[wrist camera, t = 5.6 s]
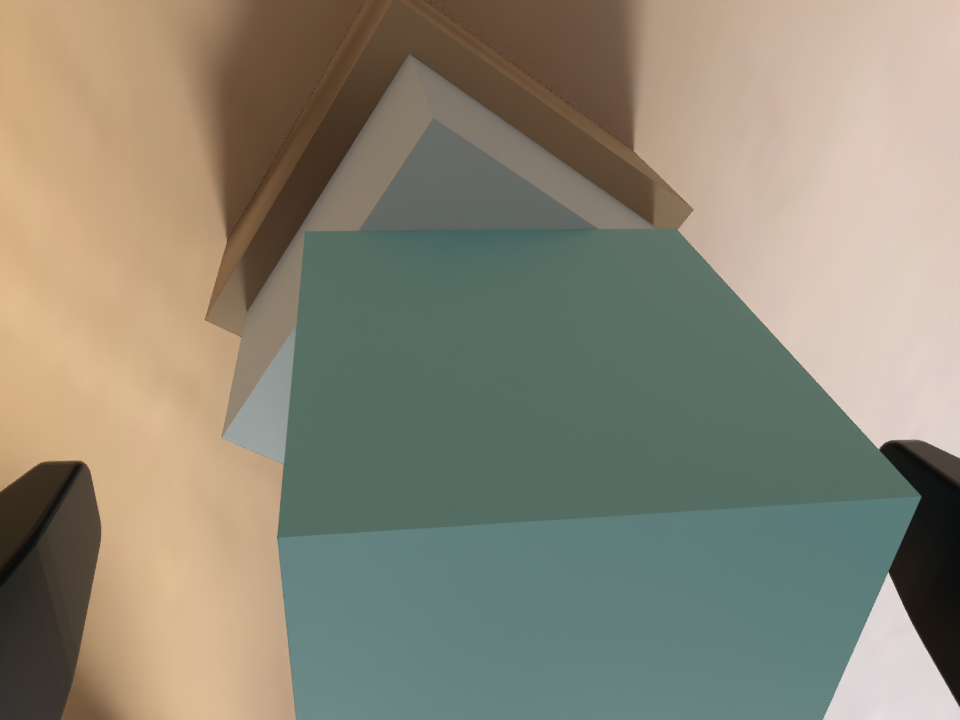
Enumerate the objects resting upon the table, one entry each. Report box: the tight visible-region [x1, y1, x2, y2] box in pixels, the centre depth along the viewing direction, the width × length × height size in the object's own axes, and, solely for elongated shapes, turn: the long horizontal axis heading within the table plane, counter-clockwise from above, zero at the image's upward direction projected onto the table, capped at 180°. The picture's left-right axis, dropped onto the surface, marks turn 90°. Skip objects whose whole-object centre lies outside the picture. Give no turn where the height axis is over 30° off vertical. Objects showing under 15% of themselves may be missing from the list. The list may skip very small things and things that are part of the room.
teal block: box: [277, 229, 922, 720], centre depth 9 cm, size 4×4×5 cm
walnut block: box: [205, 0, 693, 337], centre depth 15 cm, size 6×6×4 cm
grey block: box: [222, 54, 656, 464], centre depth 12 cm, size 5×5×4 cm
